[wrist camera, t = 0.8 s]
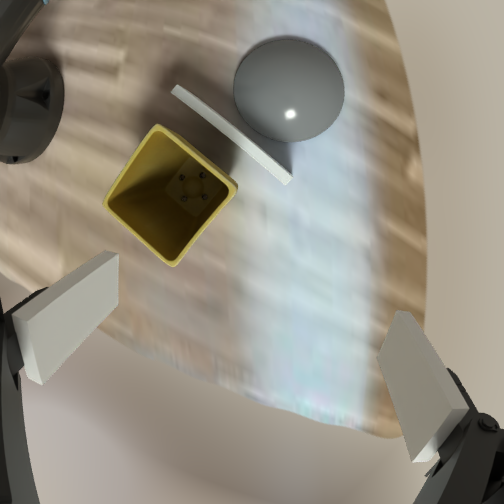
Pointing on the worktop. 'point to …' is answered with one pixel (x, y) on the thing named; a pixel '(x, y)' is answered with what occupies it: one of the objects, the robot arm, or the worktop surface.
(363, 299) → the worktop surface
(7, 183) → the worktop surface
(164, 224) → the flower pot
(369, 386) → the worktop surface
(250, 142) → the wall
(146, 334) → the worktop surface
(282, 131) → the coaster
